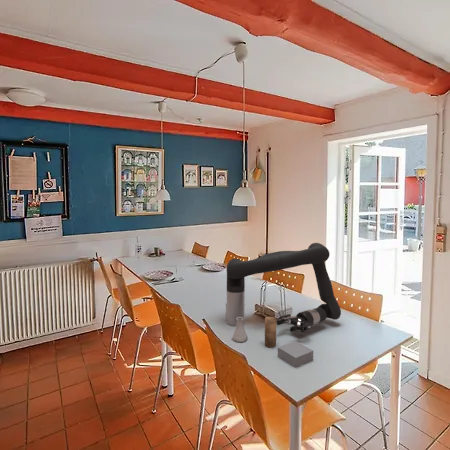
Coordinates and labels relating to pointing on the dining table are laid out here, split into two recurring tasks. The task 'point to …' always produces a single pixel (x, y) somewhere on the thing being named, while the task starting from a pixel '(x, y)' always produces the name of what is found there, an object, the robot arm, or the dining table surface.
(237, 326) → the flask
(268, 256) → the robot arm
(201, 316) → the dining table surface
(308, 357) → the slate plinth
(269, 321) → the walnut cylinder
